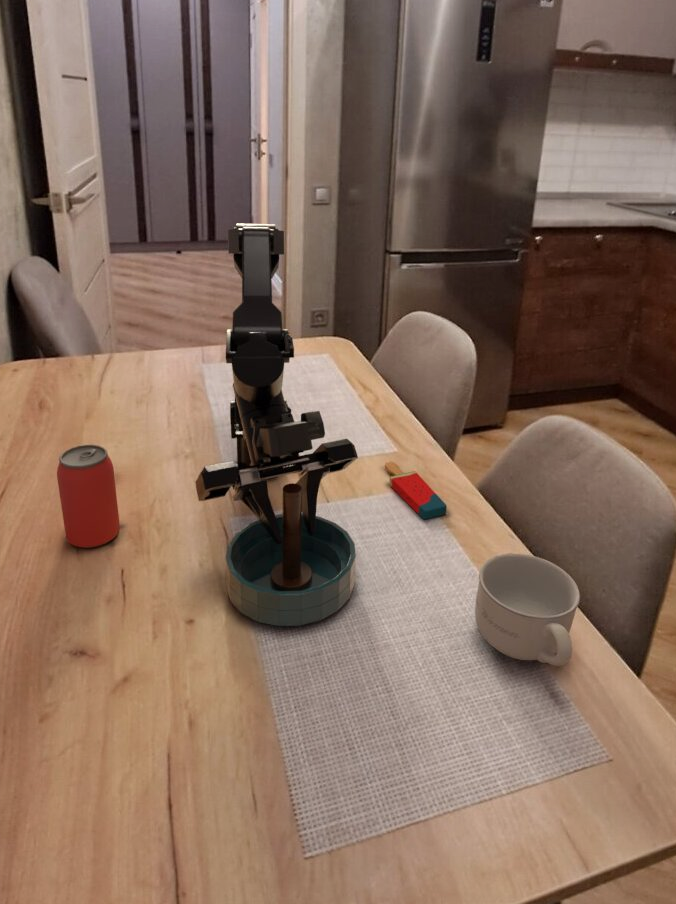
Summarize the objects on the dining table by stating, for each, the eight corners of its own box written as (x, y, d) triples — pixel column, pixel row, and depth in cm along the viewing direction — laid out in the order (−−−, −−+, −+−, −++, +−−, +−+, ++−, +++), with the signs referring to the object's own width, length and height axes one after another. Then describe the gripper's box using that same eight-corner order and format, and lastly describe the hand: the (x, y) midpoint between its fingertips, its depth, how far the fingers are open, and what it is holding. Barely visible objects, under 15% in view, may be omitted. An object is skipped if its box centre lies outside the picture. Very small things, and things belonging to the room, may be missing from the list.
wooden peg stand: (264, 589, 79) (263, 496, 74) (279, 563, 84) (279, 473, 79) (304, 597, 78) (306, 503, 73) (317, 570, 83) (319, 480, 78)
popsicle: (401, 456, 109) (449, 505, 96) (400, 464, 109) (448, 513, 97) (376, 461, 107) (422, 512, 94) (375, 469, 107) (421, 520, 95)
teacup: (463, 604, 80) (470, 549, 77) (551, 603, 81) (561, 549, 78) (489, 703, 67) (499, 641, 64) (594, 700, 68) (608, 639, 65)
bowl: (205, 615, 76) (203, 579, 74) (256, 536, 89) (255, 505, 87) (334, 642, 73) (335, 606, 71) (366, 556, 87) (368, 524, 85)
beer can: (131, 527, 90) (123, 448, 85) (96, 555, 84) (86, 473, 79) (91, 515, 92) (81, 438, 87) (54, 542, 86) (41, 461, 81)
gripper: (196, 402, 71) (229, 547, 66) (354, 378, 79) (393, 505, 75) (183, 435, 80) (211, 564, 76) (326, 411, 89) (359, 525, 84)
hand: (296, 539), depth 77 cm, fingers open, 4 cm apart
